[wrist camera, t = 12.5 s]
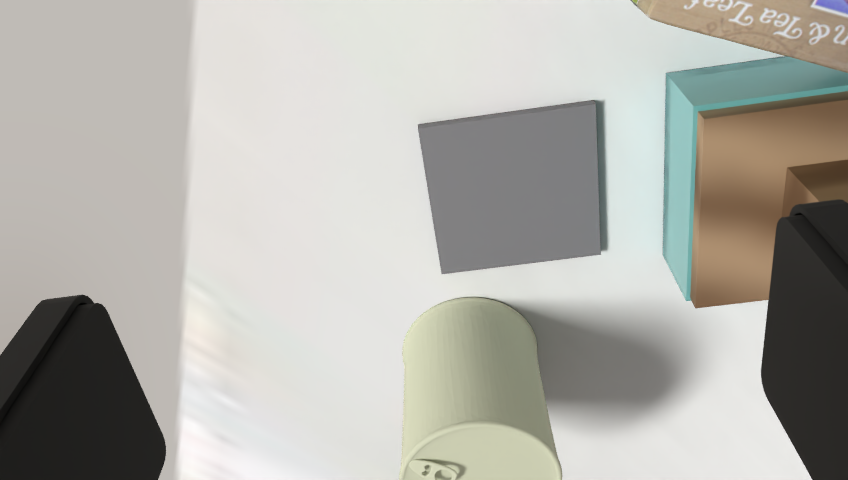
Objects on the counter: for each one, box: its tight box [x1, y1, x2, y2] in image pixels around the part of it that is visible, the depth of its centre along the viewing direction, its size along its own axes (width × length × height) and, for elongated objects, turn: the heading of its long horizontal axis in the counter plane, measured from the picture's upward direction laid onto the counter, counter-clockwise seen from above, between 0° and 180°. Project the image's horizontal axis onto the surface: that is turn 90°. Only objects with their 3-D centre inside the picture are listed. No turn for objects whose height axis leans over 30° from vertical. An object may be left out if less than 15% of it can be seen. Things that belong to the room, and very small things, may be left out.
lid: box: [690, 91, 848, 308], centre depth 38 cm, size 12×12×6 cm
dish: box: [663, 56, 848, 301], centre depth 43 cm, size 12×12×5 cm
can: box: [399, 297, 562, 480], centre depth 47 cm, size 9×9×12 cm
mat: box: [418, 100, 601, 274], centre depth 46 cm, size 10×10×1 cm
